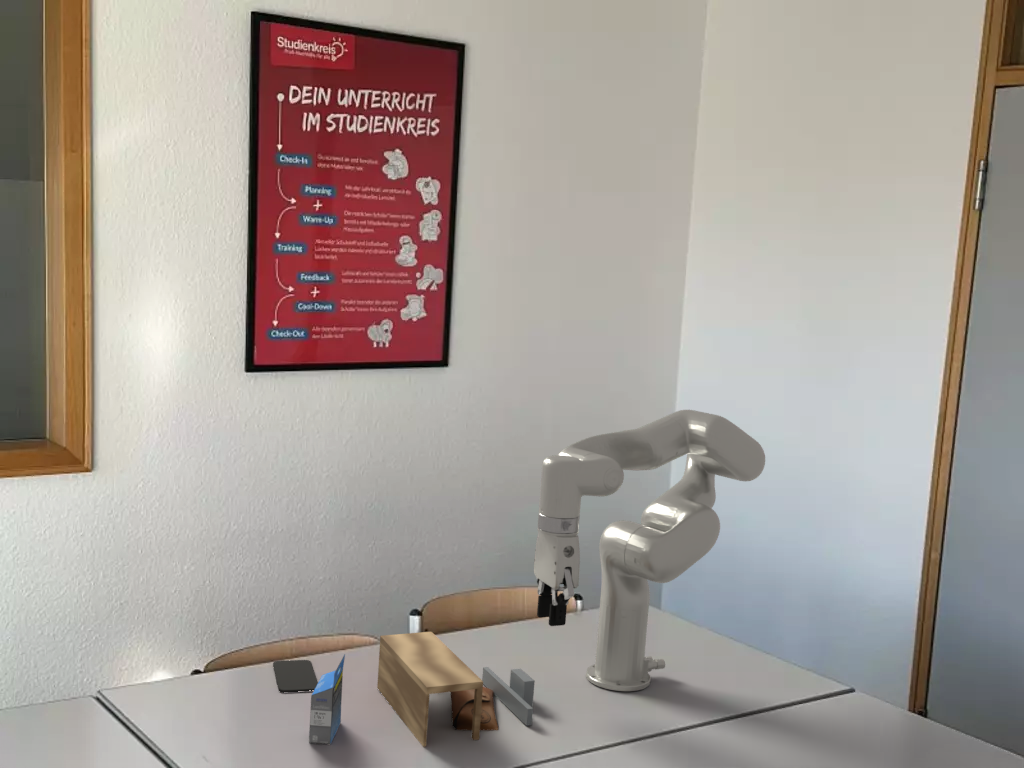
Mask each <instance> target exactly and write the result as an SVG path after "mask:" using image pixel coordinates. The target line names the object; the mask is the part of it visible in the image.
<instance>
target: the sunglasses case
mask: <svg viewBox="0 0 1024 768" xmlns="http://www.w3.org/2000/svg"><path fill="white" fill-rule="evenodd" d="M449 693H450V706H451V707H450V708H451V722H452V723H451V724H452V727H453V728H454V730H455V731H472V722H473V708H474V693H475V689H472V690H463V691H454V692H449ZM494 696H495V695H494V692H493V690H491V689H489V688H487V687H486V686H483V692H482V706H481V720H480V731H499V724H498V720H497V717H496V716H497V715H496V712H495V711H496V709H495V703H494V701H495V700H494Z"/></svg>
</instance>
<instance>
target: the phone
mask: <svg viewBox="0 0 1024 768" xmlns="http://www.w3.org/2000/svg"><path fill="white" fill-rule="evenodd" d="M272 667H274V668H273V672H274V676H275V682H276V685H278V686H277V689H278V692H279V691H280V692H279V693H281V692H283V693H282V694H285V693H284V692H298V691H309V690H311V691H312V690H315V688H316V686H317V684H318V682H319V680H318V678H317V676H316V672H315V670H314V669H315V668H314V666H313V663H312V661H311V660H309V659H293V660H292V659H291V660H290V661H289V659H288V660H276V661H275V660H274V661H273V662H272Z"/></svg>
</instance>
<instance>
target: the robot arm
mask: <svg viewBox="0 0 1024 768" xmlns="http://www.w3.org/2000/svg"><path fill="white" fill-rule="evenodd" d="M685 455H686V462H685V468H684V472H683V476H682V477H681V479H680V480H679V481H678V482H677V483H676V484H674V485H673V486H671V487H670V488H669V489H668V490H666V491H665V492H663V493H662V494H660V495H659V496H658V497H657V498H655V499H654V500H653V501H651V502H650V503H649V504H648V505H647V506H646V507H645V508H644V509H643V511H642V514H641V516H640V523H638V522H635V521H631V520H624V519H623V520H616V521H613V522H610V524H608V525H607V526H606V527H605V528H604V529H603V530H602V534H601V536H600V538H599V539H600V540H599V545H598V546H599V550H598V551H599V560H600V568H601V586H600V587H601V588H600V589H601V590H600V600H599V609H598V612H599V613H598V622H597V623H598V625H597V633H596V634H597V635H596V636H597V637H596V647H595V648H596V649H595V661H594V664H592V665H590V666H589V667H587V669H586V674H585V675H586V679H587V680H588V681H589V682H590V683H591V684H593V685H595V686H597V687H599V688H602V689H605V690H610V691H615V692H636V691H641V690H644V689H646V688H648V687H649V686H650V685H651V678H652V677H651V675H650V674H649V672H652V671H653V670H663V669H665V667H666V662H665V659H664V658H657V659H653V657H652V656H645V654H646V644H647V643H646V642H647V634H648V633H647V632H648V620H649V619H648V618H649V607H650V601H651V597H650V596H651V595H650V593H651V592H650V586H649V581H650V582H654V583H658V584H666V583H670V582H671V581H674V580H676V579H677V578H678V577H680V576H681V575H682V574H684V573H685V572H686V571H687V570H689V569H690V568H691V567H692V566H693V565H695V564H696V563H698V562H699V560H701V559H702V558H704V556H706V555H707V554H708V553H709V552H710V551H711V549H712V548H714V546H715V544H716V543H717V540H718V538H719V535H720V531H721V522H720V521H721V519H720V517H719V516H718V514H717V512H716V511H715V510H714V509H713V507H714V505H715V503H716V498H717V497H716V493H717V492H716V487H715V486H716V483H715V482H716V481H715V480H716V479H715V478H716V476H719V477H723V478H726V479H727V478H728V479H731V480H736V481H739V482H751V481H754V480H756V479H757V478H759V476H760V475H761V474H762V473H763V471H764V468H765V466H766V455H765V451H764V448H763V447H762V445H761V444H760V443H759V442H758V441H757V440H756V439H755V438H753V437H752V436H751V435H749V434H748V433H747V432H745V431H744V430H742V428H740V427H739V426H737V425H736V424H735V423H733V422H732V421H730V420H729V419H727V418H725V417H723V416H721V415H719V414H713V413H709V412H704V411H699V410H694V409H680V410H677V411H674V412H672V413H670V414H668V415H666V416H662V417H661V418H658V419H656V420H654V421H652V422H650V423H646V424H645V425H643V426H641V427H636V428H634V429H625V430H620V431H614V432H609V433H602V434H598V435H597V434H596V435H592V436H588V437H586V438H584V439H581V440H579V441H576V442H574V443H572V444H569V445H567V446H566V447H565V448H563V449H562V450H561V451H560V452H559V453H558V454H556V455H555V454H554V455H548V456H547V457H545V458H544V459H543V462H542V464H541V477H540V488H539V489H540V491H539V500H538V501H539V504H538V515H537V516H538V517H537V528H536V529H537V538H536V541H535V542H536V543H535V549H534V562H533V574H534V576H535V579H536V584H537V586H538V587H537V595H538V596H537V597H538V598H537V609H536V610H537V611H536V616H537V617H538V618H548V625H549V626H550V627H556V626H558V627H559V626H565V625H566V622H567V620H566V619H567V609H568V607H567V606H568V605H569V602H570V599H571V598H573V597H574V596H575V589H577V588H578V587H579V584H580V565H581V564H580V563H581V561H580V559H581V557H580V556H581V555H580V554H581V553H580V551H581V550H580V540H579V530H580V516H581V515H580V514H581V504H582V503H581V502H582V497H585V496H589V497H600V498H601V497H609V496H611V495H614V494H615V493H617V492H618V491H619V490H620V488H621V486H622V485H623V482H624V478H625V473H624V470H625V471H632V472H633V471H652V470H656V469H658V468H660V467H662V466H664V465H666V464H668V463H671V462H673V461H675V460H677V459H678V458H681V457H684V456H685ZM560 585H563V586H560ZM559 592H560V593H559ZM561 592H562V593H561ZM558 593H559V594H558Z"/></svg>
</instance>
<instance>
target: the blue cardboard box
mask: <svg viewBox="0 0 1024 768" xmlns="http://www.w3.org/2000/svg"><path fill="white" fill-rule="evenodd" d="M345 659H346V654H345V653H344V654H343V656H342V658H341V661H339V664H338V666H337V668H336V669H335V670H333V671H330V672H327V673H324V674H322V675H321V676H320V679H319V680H318V684H317V686H316V688H315V690H314V692H311V693H312V694H311V696H310V697H311V698H310V714H309V715H310V716H309V731H308V732H309V733H308V743H310V744H313V743H316V745H327V744H330V745H331V744H332V742H333V741H334V738H335V736H336V733H337V732H338V730H339V727H340V725H341V722H342V719H341V718H342V717H341V716H342V696H343V695H342V694H343V678H344V677H343V673H344V664H345Z"/></svg>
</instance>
